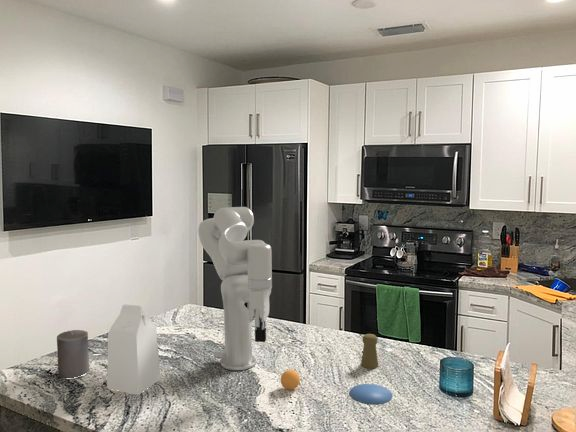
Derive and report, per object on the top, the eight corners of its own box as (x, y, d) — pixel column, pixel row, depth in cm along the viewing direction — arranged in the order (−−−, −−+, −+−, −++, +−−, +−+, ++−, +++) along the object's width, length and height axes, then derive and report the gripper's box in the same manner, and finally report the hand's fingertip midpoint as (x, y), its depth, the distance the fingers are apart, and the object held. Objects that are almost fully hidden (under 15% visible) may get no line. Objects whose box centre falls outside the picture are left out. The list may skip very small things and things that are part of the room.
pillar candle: (53, 374, 166) (51, 331, 165) (82, 365, 174) (80, 324, 172) (65, 382, 160) (63, 338, 158) (94, 373, 167) (93, 330, 165)
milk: (160, 379, 162) (158, 302, 159) (139, 395, 151) (136, 312, 148) (130, 374, 166) (127, 299, 163) (107, 389, 155) (103, 309, 152)
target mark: (348, 402, 146) (348, 401, 146) (349, 383, 159) (349, 382, 158) (393, 405, 144) (393, 404, 144) (391, 385, 157) (391, 385, 157)
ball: (279, 392, 152) (279, 373, 152) (282, 384, 158) (282, 366, 158) (298, 393, 151) (298, 375, 151) (300, 385, 157) (300, 367, 157)
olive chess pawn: (378, 369, 169) (378, 338, 168) (360, 368, 170) (360, 337, 169) (378, 362, 175) (379, 332, 174) (361, 361, 176) (361, 331, 175)
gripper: (253, 278, 161) (254, 332, 162) (242, 288, 146) (243, 349, 148) (275, 278, 159) (276, 333, 161) (267, 289, 145) (267, 350, 146)
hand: (260, 340), depth 154 cm, fingers closed
